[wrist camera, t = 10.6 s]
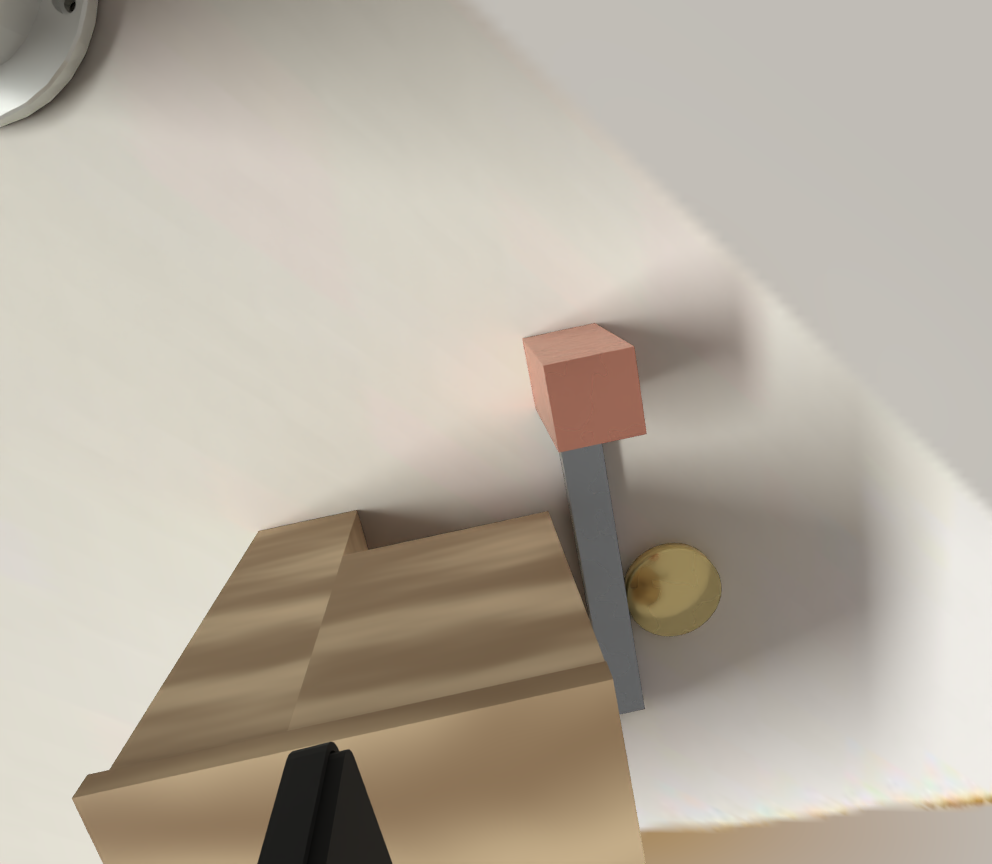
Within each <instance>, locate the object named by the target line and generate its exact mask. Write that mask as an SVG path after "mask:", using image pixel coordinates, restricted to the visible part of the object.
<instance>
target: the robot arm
mask: <svg viewBox="0 0 992 864" xmlns="http://www.w3.org/2000/svg"><path fill="white" fill-rule="evenodd" d="M73 2H76V6H75V9H74V11H73V12H71V11H70V5H71V3H73ZM97 6H98V0H0V127H2V126H5V125H7V124H10V123H13V122H15V121H18V120H20V119H23V118H26V117H28V116H29V115H31V114H32V113H34V112H35V111H37V110H38V109H40V108H41V107H43V106H44V105H46V104H47V103H49V102H50V101H52V99H53V98H54V97H55V96H56V95H57V94H58V93H59V92H60V91H61V90H62V89H63V88H64V87H65V85H66V84H67V83H68V82H69V81H70V80H71V79H72V77H73V75H74V73H75V72H76V70H77V68H78V67H79V65H80V63H81V61H82V60H83V58H84V56H85V54H86V52H87V49H88V46H89V42H90V39H91V36H92V33H93V30H94V27H95V23H96V15H97ZM257 864H393V863H392V861H391V858H390V855H389V852H388V849H387V847H386V844H385V841H384V838H383V835H382V833H381V830H380V827H379V824H378V822H377V819H376V816H375V813H374V810H373V808H372V805H371V802H370V799H369V796H368V794H367V791H366V788H365V785H364V783H363V780H362V777H361V774H360V771H359V769H358V766H357V763H356V760H355V757H354V755H353V753H352V751H351V750H350V749H347V750H343V751H339V749H338V747H337V745H336V744H335V743H334V742H327V743H323V744H319V745H315V746H311V747H307V748H303V749H299V750H295V751H292V752H291V753H289V755H288V757H287V760H286V763H285V766H284V770H283V774H282V777H281V781H280V784H279V788H278V791H277V795H276V799H275V802H274V806H273V809H272V813H271V816H270V820H269V824H268V827H267V831H266V834H265V838H264V841H263V845H262V849H261V852H260V856H259V859H258V863H257Z"/></svg>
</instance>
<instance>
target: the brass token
mask: <svg viewBox="0 0 992 864" xmlns="http://www.w3.org/2000/svg"><path fill="white" fill-rule="evenodd" d="M624 584H625V590H626V596H627V602H628V609H629V611H630V613H631V615H632V617H633V618H634V620H635V621H636V622H637V623H638V624H639V625H640V626H641V627H642V628H643V629H645V630H646V631H648V632H651V633H653V634H656V635H661V636H678V635H683V634H686V633H689V632H691V631H693V630H695V629H697V628H699V627H700V626H701V625H703V624H704V623H705V622H706V621H707V620H708V619H709V618H710V617H711V616H712V614H713V613H714V612H715V610H716V608H717V606H718V603H719V601H720V597H721V581H720V577H719V574H718V572H717V570H716V569H715V567H714V566H713V565H712V563H711V562H710V561H709V560H708V559H707V557H706V556H705V555H704V554H703V553H702V552H700V551H699V550H698V549H696V548H694V547H692V546H689V545H686V544H681V543H668V544H662V545H659V546H656V547H653V548H651V549H649V550H647V551H646V552H644V553H643V554H642V555H640V556H639V557H638V558H637V559H636V560H635V561H634V562H633V564H632V565H631V566H630V568H629V570H628V572H627V574H626V577H625V580H624Z"/></svg>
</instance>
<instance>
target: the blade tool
mask: <svg viewBox="0 0 992 864" xmlns="http://www.w3.org/2000/svg"><path fill="white" fill-rule="evenodd" d="M522 339H523V344H524V349H525V355H526V360H527V365H528V371H529V376H530V381H531V387H532V392H533V397H534V402H535V408H536V410H537V412H538V414H539V416H540V418H541V420H542V422H543V423H544V425H545V427H546V429H547V431H548V433H549V435H550V437H551V439H552V441H553V442H554V444H555V446H556V448H557V450H558V452H559V454H560V459H561V465H562V470H563V476H564V481H565V487H566V492H567V498H568V503H569V509H570V514H571V520H572V525H573V531H574V536H575V542H576V547H577V553H578V558H579V564H580V569H581V575H582V580H583V586H584V591H585V597H586V602H587V608H588V613H589V619H590V623H591V626H592V628H593V631H594V633H595V636H596V639H597V641H598V644H599V647H600V649H601V652H602V655H603V657H604V660H605V661H606V662H607V665H608V667H609V670H610V672H611V675H612V678H613V681H614V687H615V693H616V698H617V704H618V710H619V714H623V713H628V712H632V711H637V710H642V709H645V707H644V701H643V695H642V689H641V683H640V677H639V670H638V664H637V658H636V652H635V646H634V639H633V633H632V627H631V621H630V615H629V609H628V602H627V596H626V590H625V584H624V578H623V571H622V565H621V559H620V553H619V547H618V540H617V534H616V528H615V522H614V516H613V510H612V503H611V497H610V491H609V485H608V479H607V472H606V466H605V460H604V454H603V448H602V443H606V442H611V441H616V440H620V439H625V438H630V437H634V436H639V435H644V434H647V433H646V426H645V419H644V412H643V404H642V397H641V390H640V383H639V376H638V369H637V362H636V355H635V348H634V346H633V345H631V344H629V343H628V342H626V341H624V340H623V339H621V338H619V337H617V336H616V335H614V334H612V333H611V332H609V331H607V330H606V329H604V328H602V327H600V326H599V325H597V324H595V323H593V324H588V325H583V326H579V327H574V328H569V329H564V330H560V331H555V332H550V333H546V334H541V335H536V336H531V337H527V338H522Z"/></svg>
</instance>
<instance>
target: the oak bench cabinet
mask: <svg viewBox="0 0 992 864" xmlns="http://www.w3.org/2000/svg"><path fill="white" fill-rule="evenodd" d="M327 742H334V743H335V744H336V745H337V747H338V749H339V751H343V750H347V749H350V750H351V751H352V753H353V755H354V757H355V760H356V763H357V766H358V769H359V771H360V774H361V777H362V780H363V783H364V785H365V788H366V791H367V794H368V796H369V799H370V802H371V805H372V808H373V810H374V813H375V816H376V819H377V822H378V824H379V827H380V830H381V833H382V835H383V838H384V841H385V844H386V847H387V849H388V852H389V855H390V858H391V861H392V863H393V864H646V863H645V858H644V852H643V846H642V841H641V835H640V829H639V823H638V818H637V812H636V806H635V801H634V795H633V789H632V784H631V778H630V772H629V767H628V761H627V755H626V750H625V744H624V738H623V733H622V727H621V721H620V715H619V710H618V704H617V698H616V693H615V687H614V681H613V678H612V675H611V672H610V670H609V667H608V665H607V662H606V661H605V660H604V657H603V655H602V652H601V649H600V647H599V644H598V641H597V639H596V636H595V633H594V631H593V628H592V626H591V623H590V620H589V618H588V615H587V612H586V610H585V607H584V604H583V602H582V599H581V596H580V594H579V591H578V589H577V586H576V583H575V581H574V578H573V575H572V573H571V570H570V567H569V565H568V562H567V559H566V557H565V554H564V552H563V549H562V546H561V544H560V541H559V538H558V536H557V533H556V530H555V528H554V525H553V523H552V520H551V517H550V515H549V512H548V511H546V512H542V513H537V514H532V515H528V516H523V517H519V518H514V519H509V520H505V521H500V522H495V523H491V524H486V525H482V526H477V527H472V528H468V529H463V530H458V531H454V532H449V533H444V534H440V535H435V536H431V537H426V538H421V539H417V540H412V541H407V542H403V543H398V544H394V545H389V546H384V547H380V548H375V549H370V550H368V547H367V543H366V540H365V536H364V533H363V529H362V526H361V522H360V519H359V515H358V511H357V510H355V511H351V512H346V513H341V514H337V515H332V516H327V517H323V518H318V519H313V520H309V521H304V522H299V523H295V524H290V525H286V526H281V527H276V528H272V529H267V530H262V531H258V533H257V535H256V536H255V538H254V539H253V541H252V543H251V544H250V546H249V547H248V549H247V551H246V552H245V554H244V555H243V557H242V559H241V560H240V562H239V563H238V565H237V567H236V568H235V570H234V571H233V573H232V575H231V576H230V578H229V579H228V581H227V583H226V584H225V586H224V587H223V589H222V591H221V592H220V594H219V595H218V597H217V599H216V600H215V602H214V603H213V605H212V607H211V608H210V610H209V611H208V613H207V615H206V616H205V618H204V619H203V621H202V623H201V624H200V626H199V627H198V629H197V631H196V632H195V634H194V635H193V637H192V639H191V640H190V642H189V643H188V645H187V647H186V648H185V650H184V651H183V653H182V655H181V656H180V658H179V659H178V661H177V663H176V664H175V666H174V667H173V669H172V671H171V672H170V674H169V675H168V677H167V679H166V680H165V682H164V683H163V685H162V687H161V688H160V690H159V691H158V693H157V695H156V696H155V698H154V699H153V701H152V703H151V704H150V706H149V707H148V709H147V711H146V712H145V714H144V715H143V717H142V719H141V720H140V722H139V723H138V725H137V727H136V728H135V730H134V731H133V733H132V735H131V736H130V738H129V739H128V741H127V743H126V744H125V746H124V747H123V749H122V751H121V752H120V754H119V755H118V757H117V759H116V760H115V762H114V763H113V765H112V767H111V768H110V770H107V771H103V772H98V773H94V774H89V775H87V776H86V778H85V779H84V781H83V782H82V784H81V785H80V787H79V788H78V790H77V791H76V793H75V794H74V796H73V798H72V800H73V802H74V804H75V806H76V808H77V810H78V812H79V814H80V816H81V818H82V820H83V823H84V825H85V827H86V829H87V831H88V833H89V835H90V837H91V839H92V841H93V843H94V845H95V847H96V850H97V852H98V854H99V856H100V858H101V860H102V862H103V864H257V863H258V859H259V856H260V852H261V849H262V845H263V841H264V838H265V834H266V831H267V827H268V824H269V820H270V816H271V813H272V809H273V806H274V802H275V799H276V795H277V791H278V788H279V784H280V781H281V777H282V774H283V770H284V766H285V763H286V760H287V757H288V755H289V753H291V752H292V751H295V750H299V749H303V748H307V747H311V746H315V745H319V744H323V743H327Z"/></svg>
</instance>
